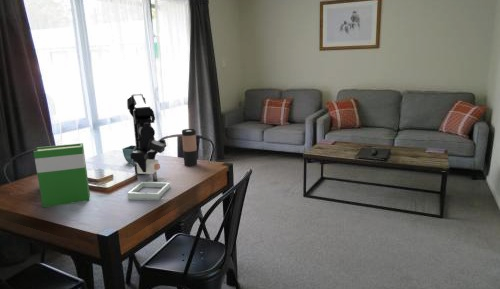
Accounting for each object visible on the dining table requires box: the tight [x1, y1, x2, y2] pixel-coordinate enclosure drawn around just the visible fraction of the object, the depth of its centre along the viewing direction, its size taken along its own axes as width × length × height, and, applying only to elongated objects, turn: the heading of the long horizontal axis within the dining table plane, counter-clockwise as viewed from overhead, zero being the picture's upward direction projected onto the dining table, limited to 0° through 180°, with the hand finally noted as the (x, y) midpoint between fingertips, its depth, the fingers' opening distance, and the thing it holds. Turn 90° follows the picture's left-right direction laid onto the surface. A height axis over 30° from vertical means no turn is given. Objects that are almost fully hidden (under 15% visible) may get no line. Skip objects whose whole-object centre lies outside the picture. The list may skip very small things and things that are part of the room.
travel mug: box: [181, 128, 198, 167], centre depth 201 cm, size 8×8×20 cm
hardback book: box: [33, 142, 91, 208], centre depth 152 cm, size 18×7×24 cm, turn 111°
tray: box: [127, 181, 171, 201], centre depth 160 cm, size 14×14×3 cm
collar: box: [136, 159, 161, 175], centre depth 158 cm, size 7×9×4 cm
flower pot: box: [122, 144, 135, 164], centre depth 209 cm, size 9×9×9 cm
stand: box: [144, 171, 170, 183], centre depth 174 cm, size 10×10×7 cm
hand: (148, 169), depth 158 cm, fingers closed on collar, 7 cm apart
